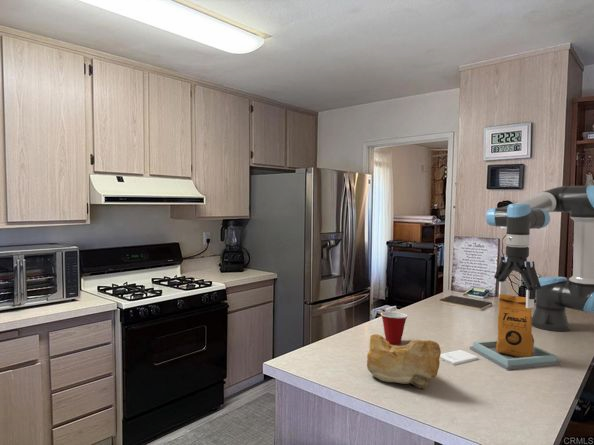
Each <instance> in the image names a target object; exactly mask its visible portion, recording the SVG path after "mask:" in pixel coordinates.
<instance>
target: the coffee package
mask: <svg viewBox="0 0 594 445" xmlns="http://www.w3.org/2000/svg"><path fill="white" fill-rule="evenodd" d="M532 317H533V315H532V308H526V296H517V295H510V294H506V295H504V294H500V295H499V294H498V315H497V339H496V340H497V344H496V350H497V352H500V353H503V354H507V355H512V356H515V357H520V358H523V357H531V356H533V348H534V346H535V339H534V336H533V333H532V332H533V331H532V328H533V325H532Z"/></svg>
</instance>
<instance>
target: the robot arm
mask: <svg viewBox="0 0 594 445" xmlns="http://www.w3.org/2000/svg"><path fill="white" fill-rule="evenodd" d="M550 213H566V214H567V213H569V217H570V219H571V220H572V221H573V251H572V252H573V255H572V257H573V259H572V260H573V261H572V262H573V263H572V267H573V268H572V276H571V277H569V278H567V277H565V276H542V277H538V274H537V271H536V266H535V261H532V260H531V261H528V260H527V258H528V257H529V256H530V247H529V246H530V240H531V239H530V235H531V234H530V233H531V232H530V230H531V229H533V230H534V229H536V230H537V229H538V230H540V229H543V228H546V227H547V226H548V225H549V224H550V221H551V214H550ZM485 221H486V223H487V225H489V226H491V227H492V226H493V227H504V228H506V233H505V234H506V236H505V237H506V240H505V244H506V246H505V255H506V256H501V257H500V262H499V265H498V267H497V269H496V271H495V273H494V276H493V278H494V279H495V280H497V281H498V286H497V288H498V296H499V295H500V294H504V295H507V284H508V283H507V278H508V277H509V276H510V275H511V273H512V272H517V273H518V274H520V275H521V277H522V279H523V281H524V283H525V285H526V290H525V291H526V292H525V294H526V295H525V297H526V308H531V309H534V308H535V309H534V312H533V314H532V327H534V328H538V329H541V330H545V331H552V332H567V331H569V330H570V323H569V321H568V316H567V313H566V308H567V309H571V310H575V311H581V312H583V313H590V314H594V185H592V184H590V185H563V186H557V187H554V188H551V189H547V190H544V191H542V192H541V191H540V192H538V193H537V194H536V195H535V196H533V197H531V198H527V199H524V200H521V201H518V202H515V203H510V204H508V205H506V206H502V207H490V208H488V209H487V210H486V213H485Z"/></svg>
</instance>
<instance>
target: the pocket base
mask: <svg viewBox="0 0 594 445" xmlns="http://www.w3.org/2000/svg"><path fill="white" fill-rule="evenodd" d="M496 344H497V339H496V340H494V339H493V340H484V341H483V340H482V341H473V343H472V346H469V350H471V351H472V352H474V353H475V354H478V355H479V356H481V357H483V358H485V359H487V360H488V361H490V362H492V363H494V364H495V365H497V366H499V367H500V368H503V369H505V371H513V370H520V369H521V370H522V369H533V368H542V367H553V366H554V367H555V366H561V361H559V360H557V359H558V355H557V354H554V353H551V352H549V351H547V350H545V349H543V348H540V347H538V346H535V345H534V348H533V356H531V357H523V358H520V357H515V356H512V355H507V354H503V353H500V352H497V350H496Z"/></svg>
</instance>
